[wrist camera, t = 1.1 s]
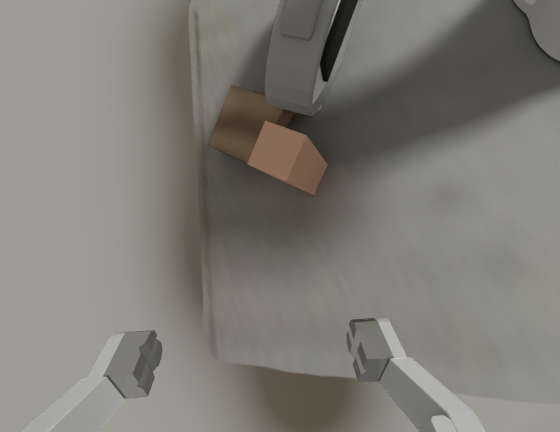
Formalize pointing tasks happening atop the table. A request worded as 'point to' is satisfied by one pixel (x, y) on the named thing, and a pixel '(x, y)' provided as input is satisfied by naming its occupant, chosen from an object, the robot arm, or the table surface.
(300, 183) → the terracotta block
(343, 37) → the alarm clock
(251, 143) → the block
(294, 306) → the table surface
